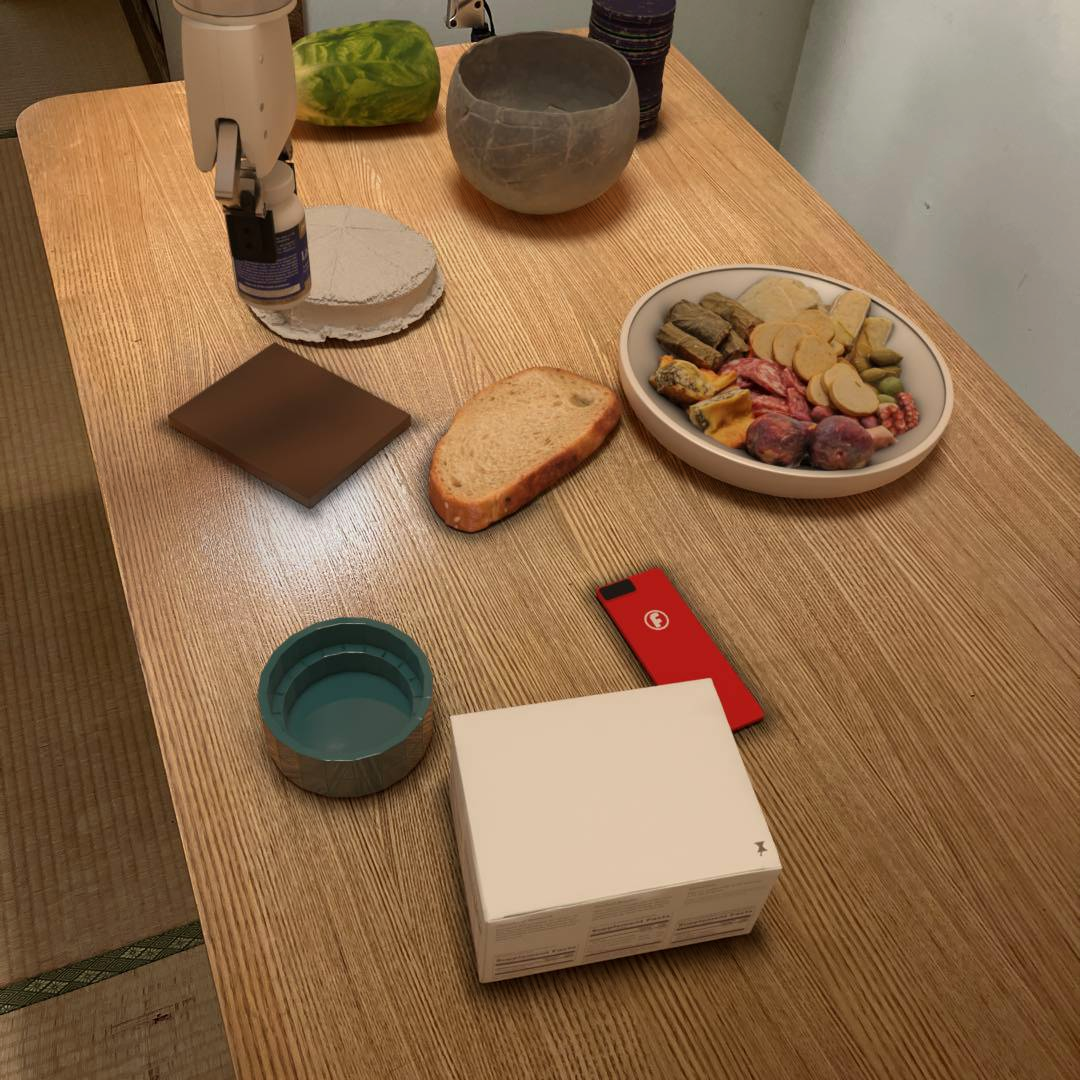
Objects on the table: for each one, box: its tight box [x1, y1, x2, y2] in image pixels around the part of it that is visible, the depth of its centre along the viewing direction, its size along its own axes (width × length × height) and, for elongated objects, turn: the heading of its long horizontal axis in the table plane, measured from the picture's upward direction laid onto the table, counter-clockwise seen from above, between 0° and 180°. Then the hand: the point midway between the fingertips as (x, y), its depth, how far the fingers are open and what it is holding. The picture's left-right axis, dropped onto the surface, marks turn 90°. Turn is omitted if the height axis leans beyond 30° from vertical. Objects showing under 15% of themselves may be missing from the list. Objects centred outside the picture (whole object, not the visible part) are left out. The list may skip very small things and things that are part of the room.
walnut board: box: [167, 341, 412, 509], centre depth 93 cm, size 16×13×1 cm
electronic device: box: [595, 567, 765, 733], centre depth 79 cm, size 6×1×15 cm
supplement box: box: [448, 678, 783, 984], centre depth 65 cm, size 17×13×9 cm
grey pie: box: [248, 202, 446, 343], centre depth 105 cm, size 20×20×7 cm
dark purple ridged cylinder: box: [587, 0, 677, 143], centre depth 127 cm, size 10×10×18 cm
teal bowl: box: [256, 616, 434, 798], centre depth 72 cm, size 11×11×5 cm
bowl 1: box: [445, 30, 640, 216], centre depth 116 cm, size 20×20×15 cm
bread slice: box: [427, 365, 623, 533], centre depth 92 cm, size 18×18×4 cm
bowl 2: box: [617, 263, 955, 500], centre depth 97 cm, size 30×30×8 cm
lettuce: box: [292, 19, 442, 128], centre depth 125 cm, size 12×21×11 cm, turn 111°
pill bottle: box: [223, 159, 312, 311], centre depth 79 cm, size 6×6×10 cm
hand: (266, 232), depth 79 cm, fingers closed on pill bottle, 5 cm apart
